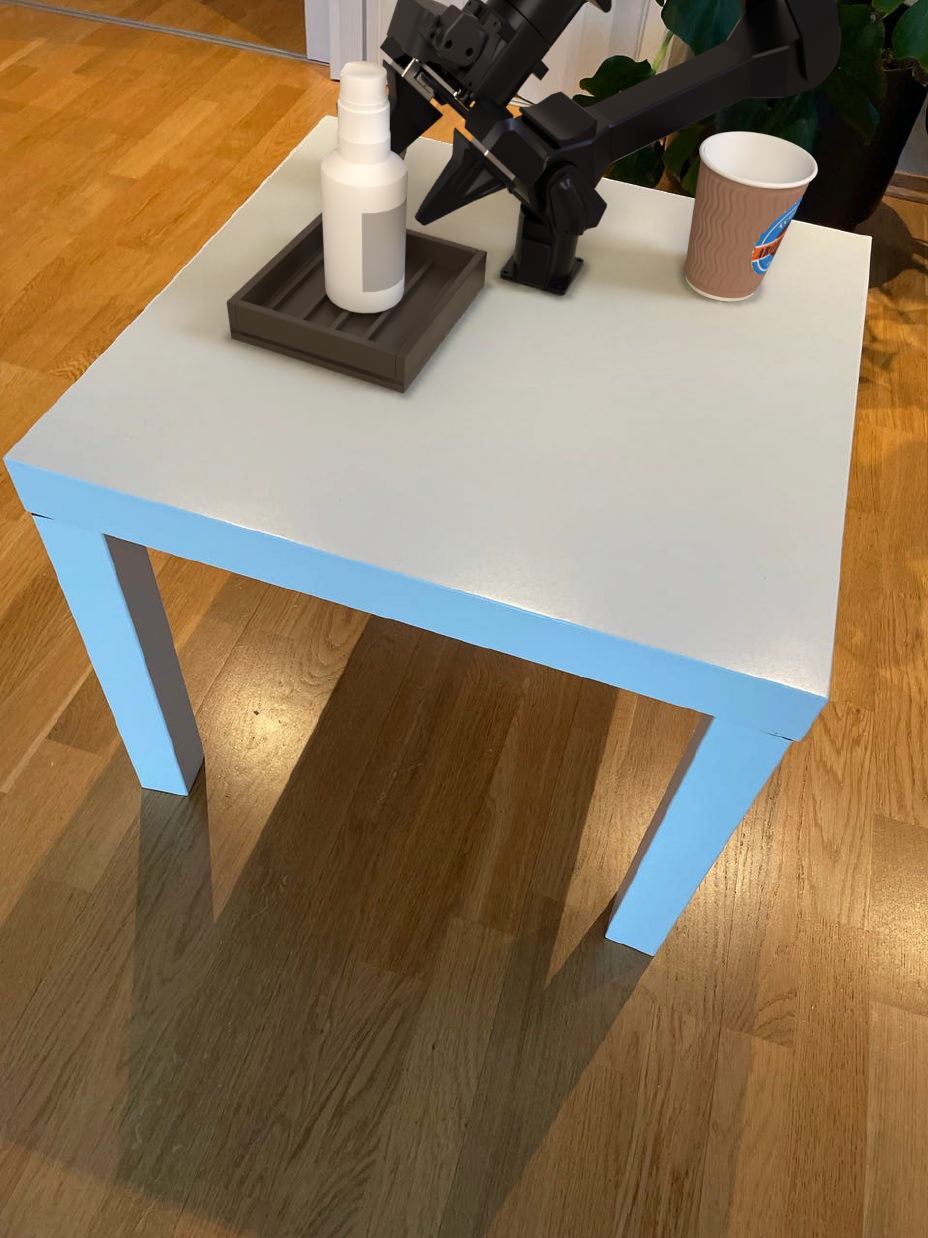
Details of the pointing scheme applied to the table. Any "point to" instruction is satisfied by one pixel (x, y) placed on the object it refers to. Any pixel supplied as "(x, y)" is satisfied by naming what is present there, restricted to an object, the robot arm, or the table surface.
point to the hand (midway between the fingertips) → (394, 194)
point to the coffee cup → (742, 210)
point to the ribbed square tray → (351, 341)
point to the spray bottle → (364, 198)
